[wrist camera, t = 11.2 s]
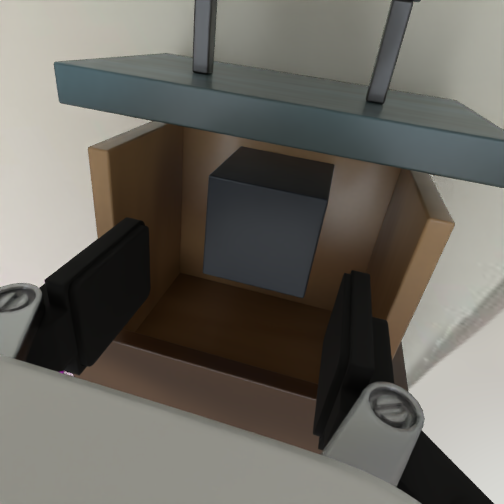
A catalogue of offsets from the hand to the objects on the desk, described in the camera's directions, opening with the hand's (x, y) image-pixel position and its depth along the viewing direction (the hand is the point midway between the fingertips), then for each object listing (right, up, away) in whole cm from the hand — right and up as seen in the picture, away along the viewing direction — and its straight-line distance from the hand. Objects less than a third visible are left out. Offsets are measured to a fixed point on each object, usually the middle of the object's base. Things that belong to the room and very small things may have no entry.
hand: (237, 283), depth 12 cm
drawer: (+2, +6, +7) cm, 9 cm away
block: (+2, +4, +6) cm, 8 cm away
